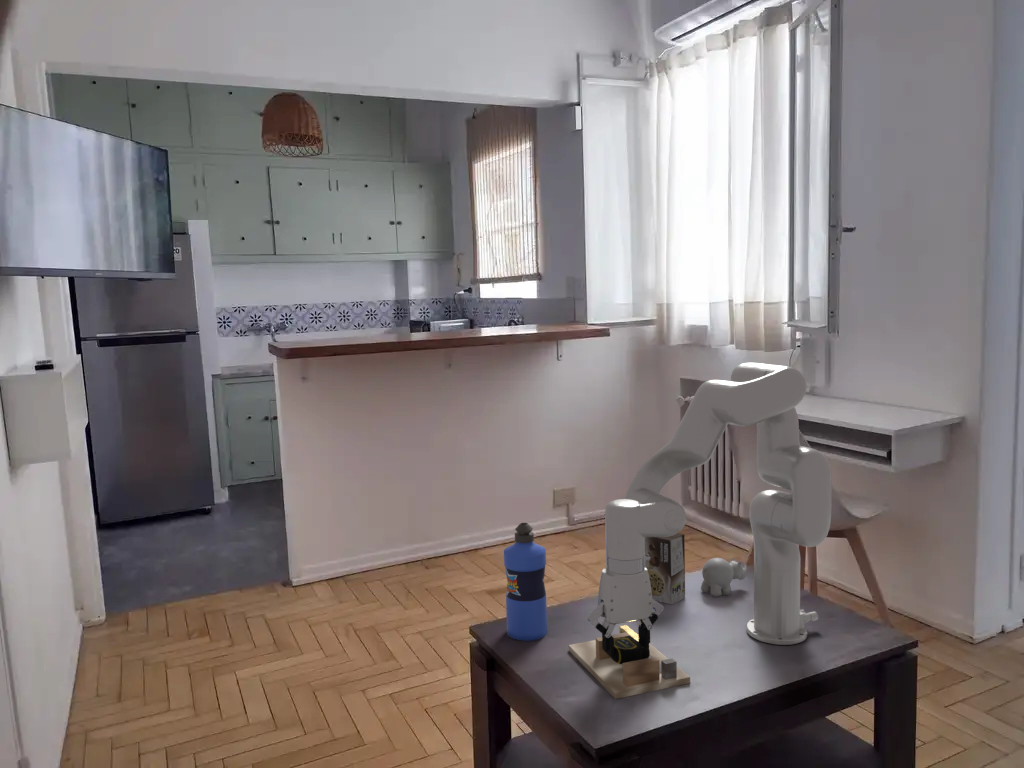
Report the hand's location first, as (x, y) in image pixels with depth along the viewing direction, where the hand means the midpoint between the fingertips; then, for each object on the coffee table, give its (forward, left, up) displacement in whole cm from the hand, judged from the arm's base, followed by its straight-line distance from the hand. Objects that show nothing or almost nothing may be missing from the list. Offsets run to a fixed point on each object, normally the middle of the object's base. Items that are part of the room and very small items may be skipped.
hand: (626, 649), depth 158 cm
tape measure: (-1, 0, -2) cm, 2 cm away
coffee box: (-27, -32, -5) cm, 42 cm away
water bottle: (+11, -26, -5) cm, 29 cm away
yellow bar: (-6, -8, -3) cm, 10 cm away
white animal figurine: (-43, -29, -5) cm, 52 cm away
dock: (-2, -3, -5) cm, 6 cm away
